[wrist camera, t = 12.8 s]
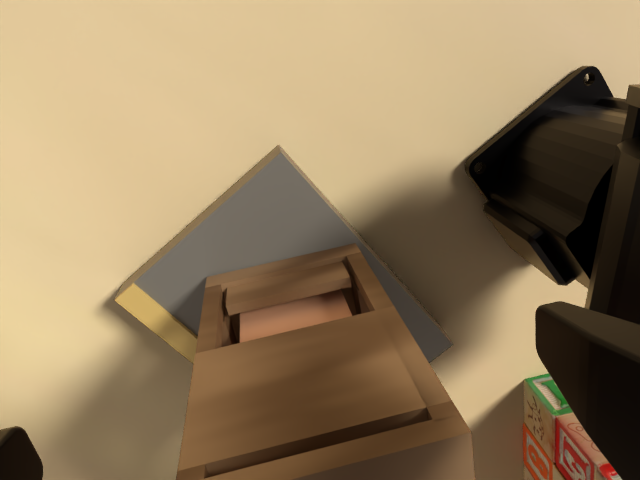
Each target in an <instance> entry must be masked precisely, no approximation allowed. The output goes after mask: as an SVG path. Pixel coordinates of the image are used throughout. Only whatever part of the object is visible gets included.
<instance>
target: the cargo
mask: <svg viewBox="0 0 640 480" xmlns="http://www.w3.org/2000/svg"><path fill="white" fill-rule="evenodd" d="M350 316H352V314H351V312H350V309H349V307H348V305H347V302H346V300H345V298H344V295H343V293H342V291H341V289H339V290H335V291H331V292H326V293H322V294H318V295H314V296H309V297H305V298H301V299H297V300H292V301H288V302H284V303H280V304H275V305H271V306H267V307H263V308H258V309H254V310H250V311H246V312H241V313H240V343H242V342H246V341H250V340H254V339H258V338H262V337H267V336H271V335H275V334H279V333H283V332H287V331H292V330H296V329H300V328H304V327H308V326H313V325H317V324H321V323H325V322H329V321H333V320H338V319H342V318H346V317H350Z"/></svg>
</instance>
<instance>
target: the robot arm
mask: <svg viewBox="0 0 640 480" xmlns="http://www.w3.org/2000/svg"><path fill="white" fill-rule="evenodd" d="M586 74H588V75H589V79H588V81H587V83H586V84H584V82H583V79H584V76H585V75H586ZM479 162H481V164H482V167H481V169H480V170H479V171H477V172H475V170H474V168H475V165H476V164H477V163H479ZM465 171H466V173H467V175H468V176H469V177H470V179H471V180H472V181H473V183H474V184H475V186H476V187H477V188H478V190H479V191H480V192H481V194H482V195H483V197H484V198H485V199H486V201H487V202H486V203H485V204H484V209H483V211H484V213H485V214H486V215H487V217H488V218H489V219H490V221H491V222H492V223H493V225H494V226H495V227H496V229H497V230H498V232H499V233H500V234H501V236H502V237H503V238H504V240H505V241H506V242H507V244H508V245H509V246H510V248H512V249H513V250H514V251H515V252H517V253H518V254H519V255H521V256H522V257H523V258H524V259H526V260H527V261H528V262H530V263H531V264H532V265H533V266H535V267H536V268H537V269H539V270H540V271H541V272H542V273H544V274H545V275H546V276H548V277H549V278H550V279H551V280H553V281H554V282H555V283H557V284H558V285H565V286H567V285H568V284H569V283H571V282H572V281H573V280H577V281H578V282H579V283H581V284H582V285H584V286H585V287H586V288H588V293H587V298H586V303H585V308H582V307H579V306H575V305H572V304H569V303H565V302H561V301H558V302H554V303H549V304H545V305H541V306H539V307H538V308H537V310H536V315H535V321H536V349H537V353H538V355H539V358H540V359H541V361H542V363H543V364H544V366H545V368H546V369H547V371H548V372H549V374H550V376H551V377H552V379H553V381H554V382H555V384H556V385H557V387H558V389H559V390H560V392H561V393H562V395H563V397H564V398H565V400H566V402H567V403H568V405H569V406H570V408H571V410H572V411H573V413H574V415H575V416H576V418H577V419H578V421H579V422H580V424H581V425H582V427H583V429H584V430H585V432H586V433H587V434H588V436H589V437H590V438H591V440H592V441H593V442H594V444H595V445H596V446H597V448H598V449H599V450H600V452H601V453H602V454H603V455H604V457H605V458H606V459H607V461H608V462H609V463H610V465H611V466H612V467H613V468H614V470H615V471H616V472H617V474H618V475H619V476H620V478H621V479H622V480H640V84H638V85H629V88H628V93H627V98H626V99H620V98H614V97H613V95H612V93H611V91H610V89H609V87H608V86H607V84H606V82H605V80H604V78H603V76H602V75H601V73H600V71H599V70H598V69H597V68H596V67H593V66H582V67H580V68H578V69H577V70H576V71H574V72H573V73H572V74H571V75H569V76H568V77H567V78H566V79H565V80H563V81H562V82H561V83H560V84H559V85H557V86H556V87H555V88H554V89H552V90H551V91H550V92H549V93H548V94H546V95H545V96H544V97H543V98H542V99H540V100H539V101H538V102H537V103H535V104H534V105H533V106H532V107H531V108H529V109H528V110H527V111H526V112H524V113H523V114H522V115H521V116H520V117H518V118H517V119H516V120H515V121H514V122H512V123H511V124H510V125H509V126H507V127H506V128H505V129H504V130H503V131H501V132H500V133H499V134H498V135H496V136H495V137H494V138H493V139H492V140H490V141H489V142H488V143H487V144H486V145H484V146H483V147H482V148H481V149H479V150H478V151H477V152H476V153H475V154H473V155H472V156H471V157H470V158H469V159H468V160H467V162H466V164H465ZM42 477H43V466H42V462H41V459H40V457H39V455H38V454H37V452H36V450H35V448H34V446H33V444H32V442H31V441H30V439H29V437H28V435H27V433H26V432H25V430H24V429H23V428H21V427H18V426H15V427H10V428H6V429H1V430H0V480H42Z"/></svg>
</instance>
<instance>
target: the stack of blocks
mask: <svg viewBox="0 0 640 480" xmlns="http://www.w3.org/2000/svg"><path fill="white" fill-rule="evenodd" d="M523 451H524V480H622V479H621V478H620V476H619V475H618V474H617V472H616V471H615V470H614V468H613V467H612V466H611V465H610V463H609V462H608V461H607V459H606V458H605V457H604V455H603V454H602V453H601V452H600V450H599V449H598V448H597V446H596V445H595V444H594V442H593V441H592V440H591V438H590V437H589V436H588V434H587V433H586V432H585V430H584V429H583V427H582V425H581V424H580V422H579V421H578V419H577V418H576V416H575V415H574V413H573V411H572V410H571V408H570V406H569V405H568V403H567V402H566V400H565V398H564V397H563V395H562V393H561V392H560V390H559V389H558V387H557V385H556V384H555V382H554V381H553V379H552V377H551V376H550V374H545V375H540V376H536V377H532V378H527V379H524V423H523Z"/></svg>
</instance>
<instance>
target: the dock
mask: <svg viewBox="0 0 640 480" xmlns="http://www.w3.org/2000/svg"><path fill="white" fill-rule="evenodd" d="M354 243H356V245H357V246H358V248H359V250H360V251H361V253H362V255H363V256H364V258H365V260H366V261H367V263H368V264H369V266H370V268H371V269H372V271H373V273H374V274H375V276H376V277H377V279H378V281H379V282H380V284H381V286H382V287H383V289H384V291H385V292H386V294H387V295H388V297H389V299H390V300H391V302H392V304H393V305H394V307H395V309H396V310H397V312H398V313H399V315H400V317H401V318H402V320H403V322H404V323H405V325H406V326H407V328H408V330H409V331H410V333H411V335H412V336H413V338H414V340H415V341H416V343H417V344H418V346H419V348H420V349H421V351H422V353H423V354H424V356H425V357H426V359H427V361H428V362H429V363H430V362H431V361H432V360H434V359H435V358H436V357H438V356H439V355H440V354H441V353H443V352H444V351H445V350H447V349H448V348H449V347H451V346H452V345H453V343H452V342H451V340H450V339H449V338H448V336H447V335H446V333H445V332H444V330H443V329H442V327H441V326H440V325H439V324H438V323H437V322H436V321H435V319H434V318H433V317H432V316H431V315H430V314H429V313H428V312H427V310H426V309H425V308H424V307H423V306H422V305H421V304H420V303H419V301H418V300H417V299H416V298H415V297H414V296H413V295H412V294H411V292H410V291H409V290H408V289H407V288H406V287H405V286H404V285H403V284H402V282H401V281H400V280H399V279H398V278H397V277H396V276H395V275H394V273H393V272H392V271H391V270H390V269H389V268H388V267H387V266H386V264H385V263H384V262H383V261H382V260H381V259H380V258H379V257H378V255H377V254H376V253H375V252H374V251H373V250H372V249H371V248H370V246H369V245H368V244H367V243H366V242H365V241H364V240H363V239H362V237H361V236H360V235H359V234H358V233H357V232H356V231H355V230H354V229H353V227H352V226H351V225H350V224H349V223H348V222H347V221H346V220H345V218H344V217H343V216H342V215H341V214H340V213H339V212H338V211H337V209H336V208H335V207H334V206H333V205H332V204H331V203H330V202H329V200H328V199H327V198H326V197H325V196H324V195H323V194H322V193H321V191H320V190H319V189H318V188H317V187H316V186H315V185H314V184H313V182H312V181H311V180H310V179H309V178H308V177H307V176H306V175H305V174H304V172H303V171H302V170H301V169H300V168H299V167H298V166H297V165H296V163H295V162H294V161H293V160H292V159H291V158H290V157H289V156H288V154H287V153H286V152H285V151H284V150H283V149H282V148H281V147H280V145H278V146H277V147H276V148H275V149H273V150H272V151H271V152H270V153H269V154H268V155H267V156H266V157H264V158H263V159H262V160H261V161H260V162H259V163H258V164H257V165H255V166H254V167H253V168H252V169H251V170H250V171H249V172H248V173H246V174H245V175H244V176H243V177H242V178H241V179H240V180H239V181H237V182H236V183H235V184H234V185H233V186H232V187H231V188H230V189H228V190H227V191H226V192H225V193H224V194H223V195H222V196H221V197H219V198H218V199H217V200H216V201H215V202H214V203H213V204H212V205H210V206H209V207H208V208H207V209H206V210H205V211H204V212H203V213H201V214H200V215H199V216H198V217H197V218H196V219H195V220H194V221H192V222H191V223H190V224H189V225H188V226H187V227H186V228H185V229H183V230H182V231H181V232H180V233H179V234H178V235H177V236H176V237H174V238H173V239H172V240H171V241H170V242H169V243H168V244H167V245H165V246H164V247H163V248H162V249H161V250H160V251H159V252H158V253H156V254H155V255H154V256H153V257H152V258H151V259H150V260H149V261H147V262H146V263H145V264H144V265H143V266H142V267H141V268H140V269H138V270H137V271H136V272H135V273H134V274H133V275H132V276H131V277H129V278H128V279H127V280H126V281H125V282H124V283H123V284H122V286H121V288H120V290H119V292H118V294H117V295H116V297H115V299H114V300H115V301H116V302H117V303H118V304H119V305H121V306H122V307H123V308H124V309H126V310H127V311H128V312H129V313H131V314H132V315H133V316H134V317H136V318H137V319H138V320H139V321H141V322H142V323H143V324H144V325H146V326H147V327H148V328H149V329H150V330H152V331H153V332H154V333H155V334H157V335H158V336H159V337H160V338H162V339H163V340H164V341H165V342H167V343H168V344H169V345H170V346H172V347H173V348H174V349H175V350H177V351H178V352H179V353H180V354H181V355H183V356H184V357H185V358H186V359H188V360H189V361H190V362H191V363H193V364H194V358H195V352H196V345H197V339H198V332H199V325H200V319H201V312H202V305H203V299H204V292H205V286H206V279H207V277H209V276H213V275H218V274H222V273H227V272H231V271H235V270H240V269H244V268H248V267H253V266H257V265H262V264H266V263H270V262H275V261H279V260H283V259H288V258H292V257H297V256H301V255H305V254H310V253H314V252H319V251H323V250H327V249H332V248H336V247H340V246H345V245H349V244H354Z"/></svg>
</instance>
